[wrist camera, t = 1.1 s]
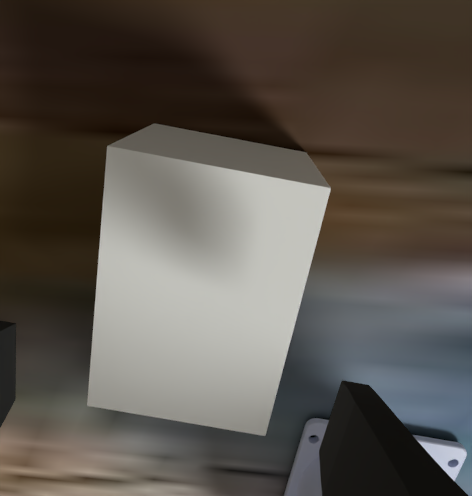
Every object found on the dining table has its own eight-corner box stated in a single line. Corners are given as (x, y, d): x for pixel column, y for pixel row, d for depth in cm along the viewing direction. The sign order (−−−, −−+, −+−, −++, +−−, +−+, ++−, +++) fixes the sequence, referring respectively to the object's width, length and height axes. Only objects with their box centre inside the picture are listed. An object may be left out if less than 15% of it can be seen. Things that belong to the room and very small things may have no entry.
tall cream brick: (262, 338, 21) (265, 436, 15) (132, 315, 20) (87, 405, 15) (306, 152, 18) (330, 188, 12) (154, 123, 17) (107, 146, 12)
